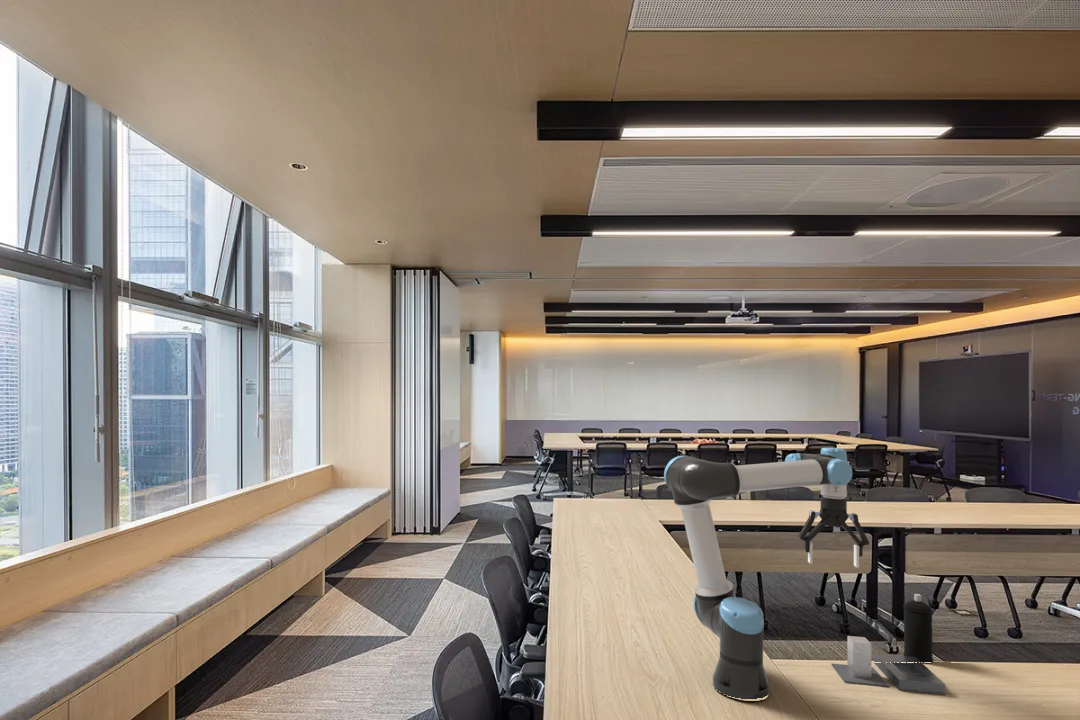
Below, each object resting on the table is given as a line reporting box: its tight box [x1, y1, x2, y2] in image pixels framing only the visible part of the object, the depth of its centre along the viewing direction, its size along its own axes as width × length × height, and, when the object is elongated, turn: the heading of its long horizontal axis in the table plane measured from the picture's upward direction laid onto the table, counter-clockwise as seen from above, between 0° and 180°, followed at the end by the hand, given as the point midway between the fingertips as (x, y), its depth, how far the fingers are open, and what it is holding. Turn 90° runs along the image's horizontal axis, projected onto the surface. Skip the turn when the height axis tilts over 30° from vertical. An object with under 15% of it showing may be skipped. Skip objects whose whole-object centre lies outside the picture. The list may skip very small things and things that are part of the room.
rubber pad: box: [830, 663, 890, 688], centre depth 180 cm, size 12×12×1 cm
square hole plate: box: [873, 652, 946, 696], centre depth 179 cm, size 12×18×3 cm, turn 171°
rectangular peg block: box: [846, 635, 872, 679], centre depth 180 cm, size 5×5×10 cm
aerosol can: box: [902, 593, 934, 663], centre depth 195 cm, size 8×8×20 cm
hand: (833, 564), depth 190 cm, fingers open, 13 cm apart
